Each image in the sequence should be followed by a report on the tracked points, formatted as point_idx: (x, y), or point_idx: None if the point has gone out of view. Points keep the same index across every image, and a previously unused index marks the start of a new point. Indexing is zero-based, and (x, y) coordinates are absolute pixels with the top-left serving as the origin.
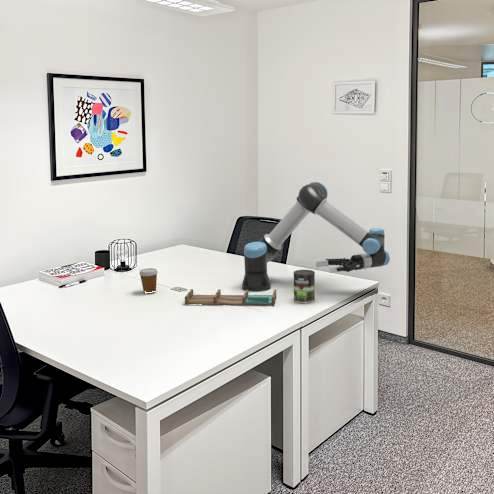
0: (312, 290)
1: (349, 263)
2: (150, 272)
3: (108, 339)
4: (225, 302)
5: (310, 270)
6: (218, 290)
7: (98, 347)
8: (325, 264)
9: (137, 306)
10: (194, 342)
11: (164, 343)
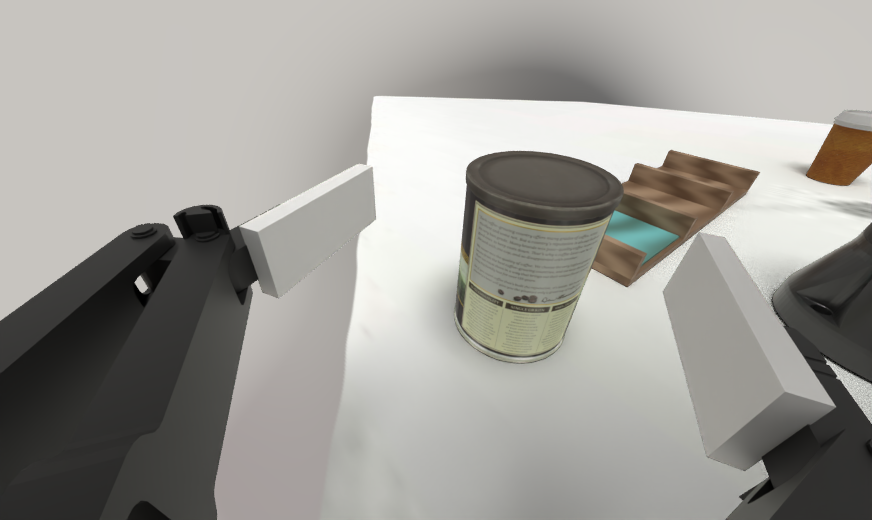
0: (459, 268)
1: (66, 449)
2: (845, 113)
3: (538, 114)
4: (624, 189)
5: (561, 206)
6: (716, 186)
7: (519, 108)
8: (707, 381)
9: (691, 148)
10: (450, 126)
11: (477, 120)
